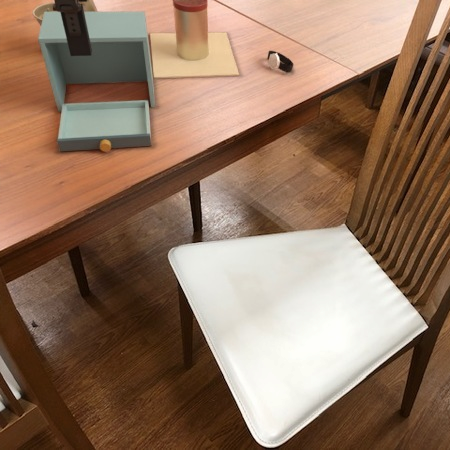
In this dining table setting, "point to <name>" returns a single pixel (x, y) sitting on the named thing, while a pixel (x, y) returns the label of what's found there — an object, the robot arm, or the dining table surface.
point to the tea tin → (191, 28)
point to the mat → (181, 68)
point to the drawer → (104, 125)
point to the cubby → (98, 51)
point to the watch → (275, 61)
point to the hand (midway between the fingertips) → (81, 52)
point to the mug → (89, 6)
